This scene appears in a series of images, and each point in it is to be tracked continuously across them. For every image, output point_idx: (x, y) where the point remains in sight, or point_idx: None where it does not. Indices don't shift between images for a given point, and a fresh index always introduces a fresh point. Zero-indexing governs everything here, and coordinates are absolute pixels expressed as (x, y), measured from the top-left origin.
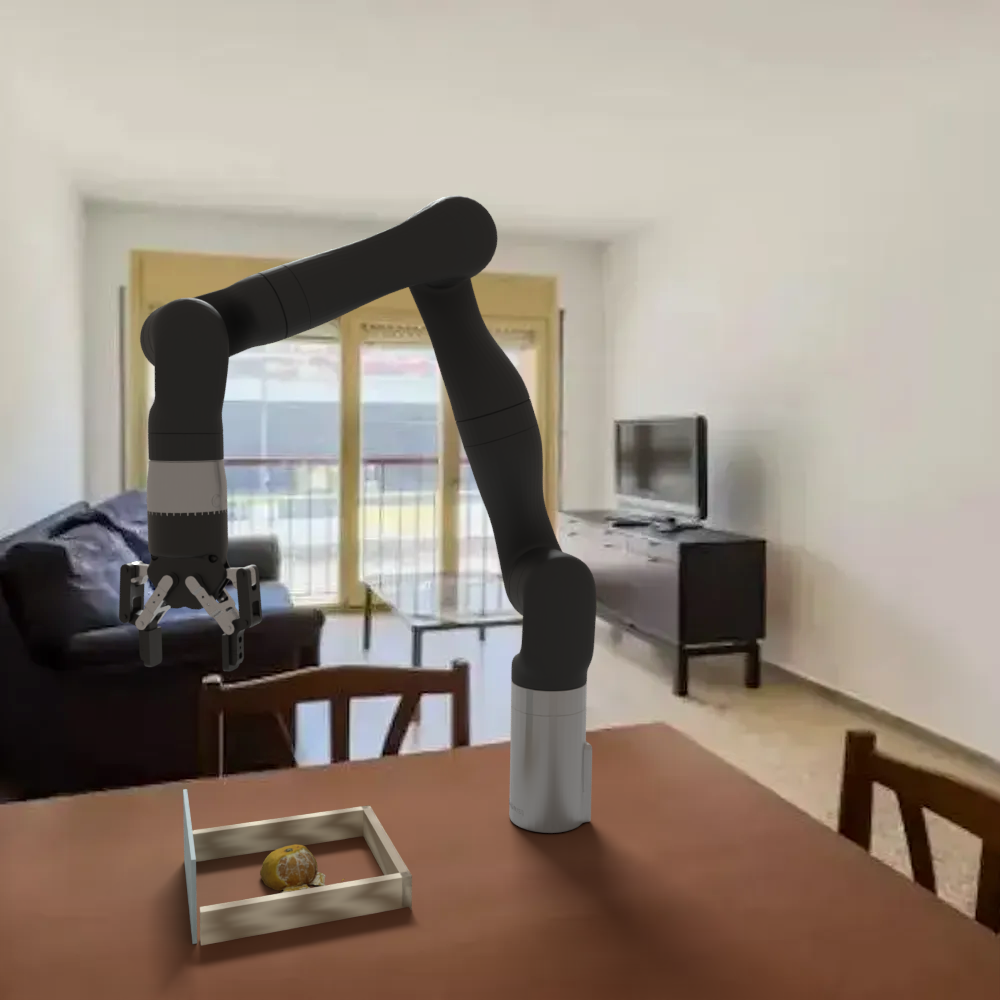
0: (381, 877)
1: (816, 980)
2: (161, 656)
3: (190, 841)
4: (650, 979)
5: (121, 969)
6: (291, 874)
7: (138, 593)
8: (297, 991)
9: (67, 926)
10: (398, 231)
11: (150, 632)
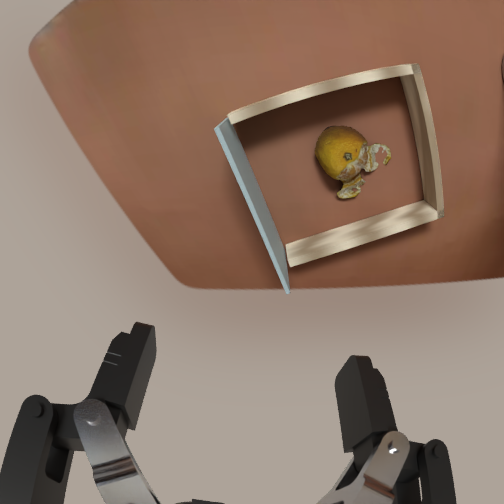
0: (424, 218)
1: None
2: (149, 335)
3: (274, 263)
4: (501, 270)
5: (240, 270)
6: (349, 177)
7: (50, 487)
8: (355, 287)
9: (174, 224)
10: None
11: (134, 424)
